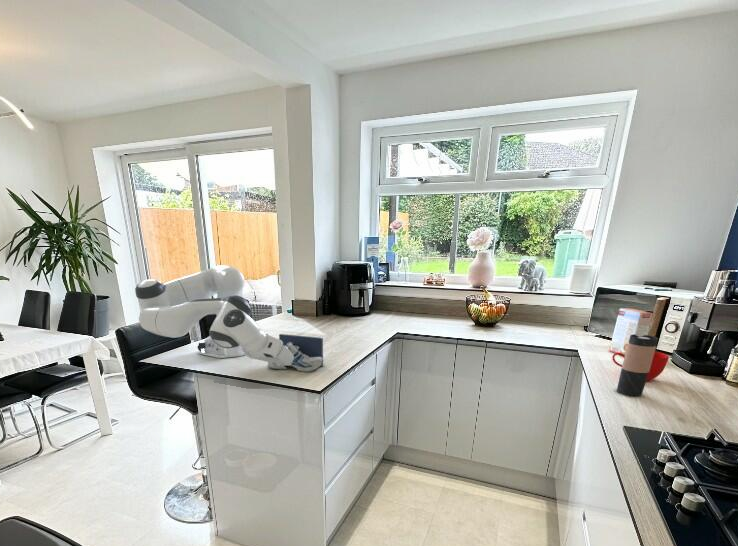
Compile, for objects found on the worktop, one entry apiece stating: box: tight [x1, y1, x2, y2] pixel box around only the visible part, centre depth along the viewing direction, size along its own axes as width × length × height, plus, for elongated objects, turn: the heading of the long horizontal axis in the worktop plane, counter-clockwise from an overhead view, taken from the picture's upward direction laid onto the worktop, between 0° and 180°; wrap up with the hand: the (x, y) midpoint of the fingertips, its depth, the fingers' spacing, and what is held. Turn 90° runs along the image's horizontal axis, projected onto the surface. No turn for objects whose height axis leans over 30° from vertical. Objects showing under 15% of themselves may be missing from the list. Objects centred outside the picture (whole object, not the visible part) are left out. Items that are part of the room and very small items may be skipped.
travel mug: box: [616, 334, 659, 398], centre depth 135 cm, size 8×8×20 cm
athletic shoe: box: [267, 342, 324, 373], centre depth 162 cm, size 10×23×12 cm, turn 89°
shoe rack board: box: [278, 333, 324, 368], centre depth 167 cm, size 20×1×12 cm, turn 69°
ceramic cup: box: [611, 350, 670, 382], centre depth 152 cm, size 13×17×10 cm
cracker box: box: [608, 307, 654, 355], centre depth 182 cm, size 14×6×21 cm, turn 179°
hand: (277, 364), depth 149 cm, fingers closed
